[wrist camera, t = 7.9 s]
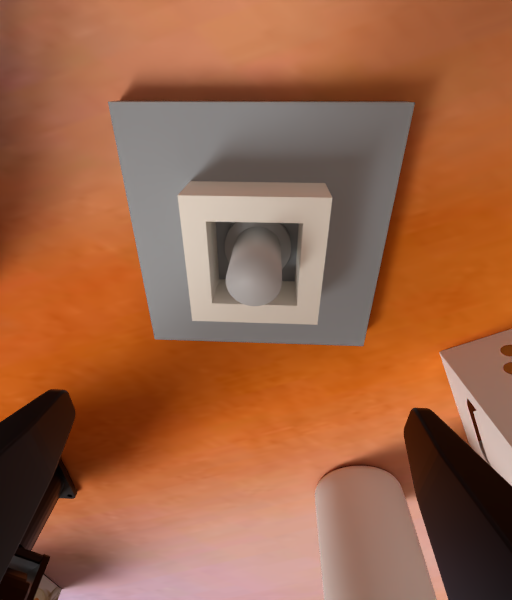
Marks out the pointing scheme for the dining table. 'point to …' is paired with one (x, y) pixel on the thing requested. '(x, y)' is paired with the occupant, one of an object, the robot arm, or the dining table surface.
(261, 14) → the dining table surface
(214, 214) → the white square frame
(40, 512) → the robot arm
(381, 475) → the milk bottle
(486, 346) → the grater
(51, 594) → the coffee box
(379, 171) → the post stand
